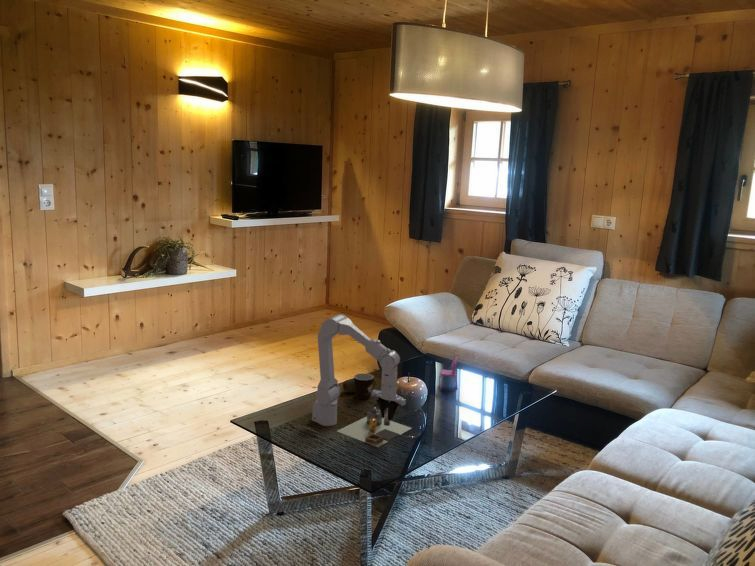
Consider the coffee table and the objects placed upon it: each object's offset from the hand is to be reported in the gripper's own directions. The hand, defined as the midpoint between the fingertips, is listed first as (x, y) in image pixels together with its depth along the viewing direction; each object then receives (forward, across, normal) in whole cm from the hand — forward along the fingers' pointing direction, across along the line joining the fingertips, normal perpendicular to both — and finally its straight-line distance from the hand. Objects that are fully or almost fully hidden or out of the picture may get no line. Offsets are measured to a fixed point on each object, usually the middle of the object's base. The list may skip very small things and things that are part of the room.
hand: (387, 418), depth 231 cm
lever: (+6, +7, 0) cm, 9 cm away
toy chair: (+8, +10, -63) cm, 64 cm away
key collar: (+7, 0, +7) cm, 10 cm away
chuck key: (+2, 0, 0) cm, 2 cm away
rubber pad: (+7, 0, 0) cm, 7 cm away
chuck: (+7, +10, -6) cm, 14 cm away
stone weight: (+8, +38, -30) cm, 49 cm away
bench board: (+8, +6, -1) cm, 10 cm away
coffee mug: (+8, +30, -26) cm, 41 cm away
